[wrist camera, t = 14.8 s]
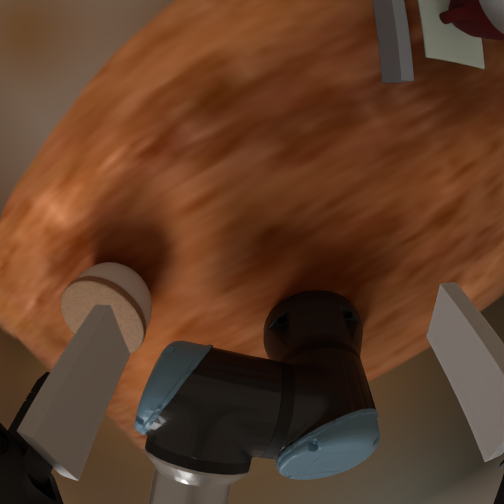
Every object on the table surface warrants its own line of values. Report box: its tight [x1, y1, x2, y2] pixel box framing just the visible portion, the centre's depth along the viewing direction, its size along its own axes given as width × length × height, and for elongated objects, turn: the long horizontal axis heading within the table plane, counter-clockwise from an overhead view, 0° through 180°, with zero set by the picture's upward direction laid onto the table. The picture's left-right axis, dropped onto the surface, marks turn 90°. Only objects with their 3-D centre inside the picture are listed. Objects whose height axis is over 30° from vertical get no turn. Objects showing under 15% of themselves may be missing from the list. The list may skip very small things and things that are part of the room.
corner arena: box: [372, 0, 485, 83], centre depth 24 cm, size 22×20×6 cm
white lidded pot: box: [61, 262, 152, 354], centre depth 41 cm, size 13×13×11 cm
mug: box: [439, 0, 504, 40], centre depth 22 cm, size 11×8×10 cm
